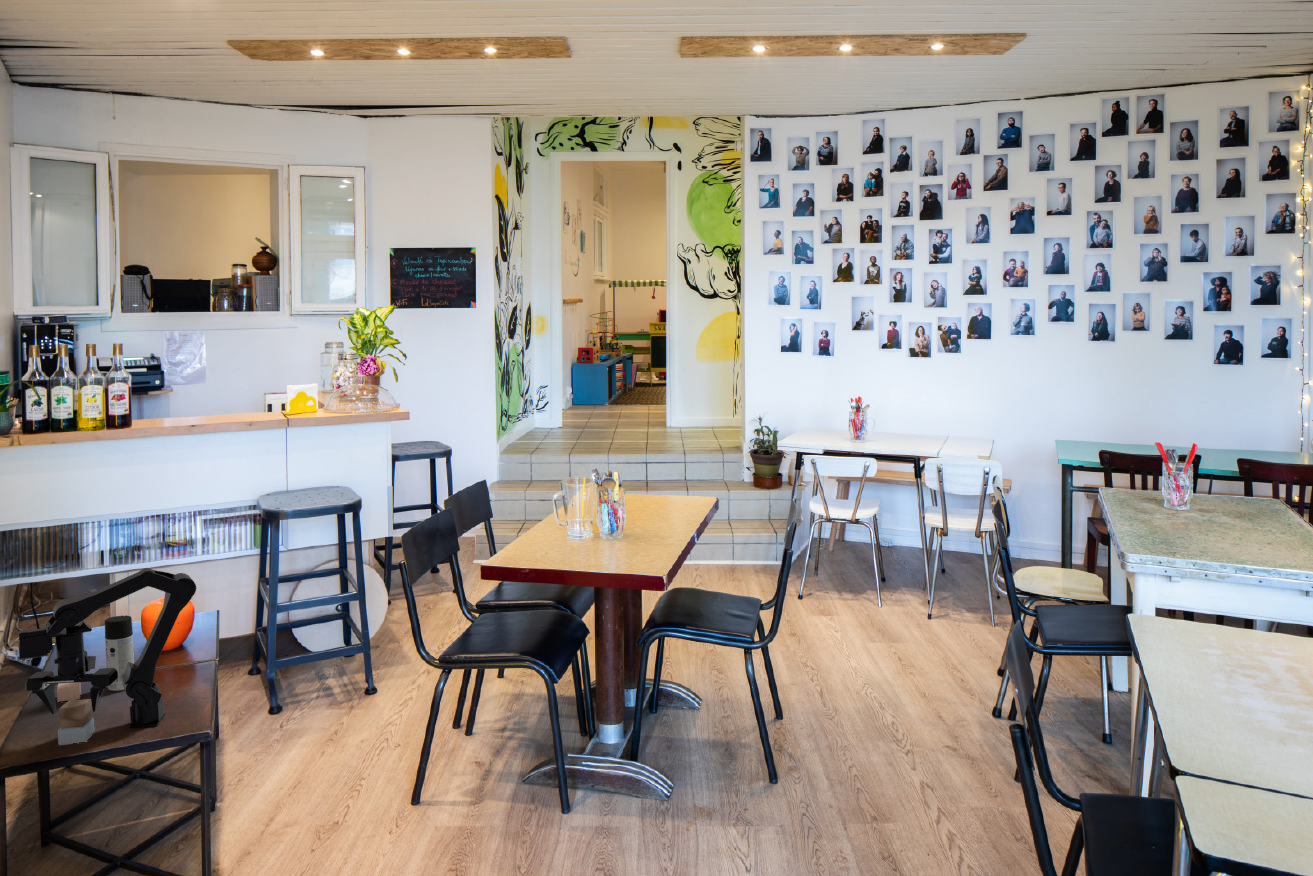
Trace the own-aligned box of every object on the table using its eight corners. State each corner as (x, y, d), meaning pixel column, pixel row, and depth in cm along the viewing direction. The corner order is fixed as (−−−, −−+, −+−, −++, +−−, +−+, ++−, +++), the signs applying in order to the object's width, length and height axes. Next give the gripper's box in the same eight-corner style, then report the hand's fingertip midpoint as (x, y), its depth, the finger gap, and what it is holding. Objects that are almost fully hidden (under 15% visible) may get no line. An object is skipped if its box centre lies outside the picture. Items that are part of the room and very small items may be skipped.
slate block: (94, 733, 227) (93, 717, 227) (86, 743, 222) (85, 727, 221) (67, 735, 226) (66, 720, 225) (58, 746, 220) (57, 730, 220)
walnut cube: (92, 718, 226) (90, 699, 226) (83, 726, 222) (81, 707, 221) (70, 719, 226) (68, 700, 225) (60, 728, 221) (59, 708, 220)
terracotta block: (81, 693, 252) (80, 679, 251) (79, 700, 247) (78, 686, 247) (59, 697, 249) (58, 683, 249) (57, 703, 245) (56, 689, 244)
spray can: (110, 684, 258) (106, 616, 256) (137, 681, 260) (133, 613, 258) (105, 693, 252) (101, 623, 249) (133, 690, 254) (129, 620, 252)
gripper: (125, 638, 231) (128, 697, 233) (44, 642, 228) (48, 701, 230) (106, 653, 220) (110, 715, 222) (21, 657, 217) (26, 720, 219)
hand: (74, 712), depth 223 cm, fingers open, 9 cm apart
